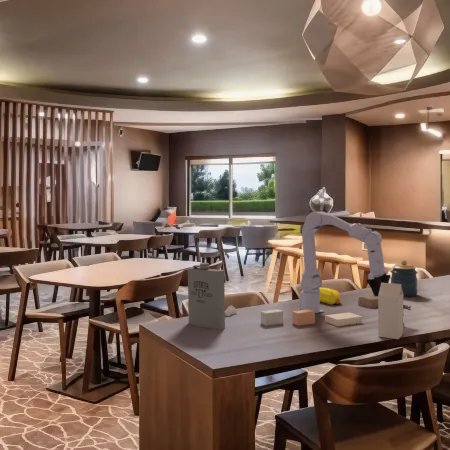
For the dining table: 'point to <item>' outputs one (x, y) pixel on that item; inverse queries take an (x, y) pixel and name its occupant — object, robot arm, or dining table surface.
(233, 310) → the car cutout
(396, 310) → the milk carton
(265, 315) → the grey brick
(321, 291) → the yellow banana
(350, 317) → the cream base brick
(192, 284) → the flask
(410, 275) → the canister
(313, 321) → the terracotta brick
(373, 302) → the brick
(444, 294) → the dining table surface
